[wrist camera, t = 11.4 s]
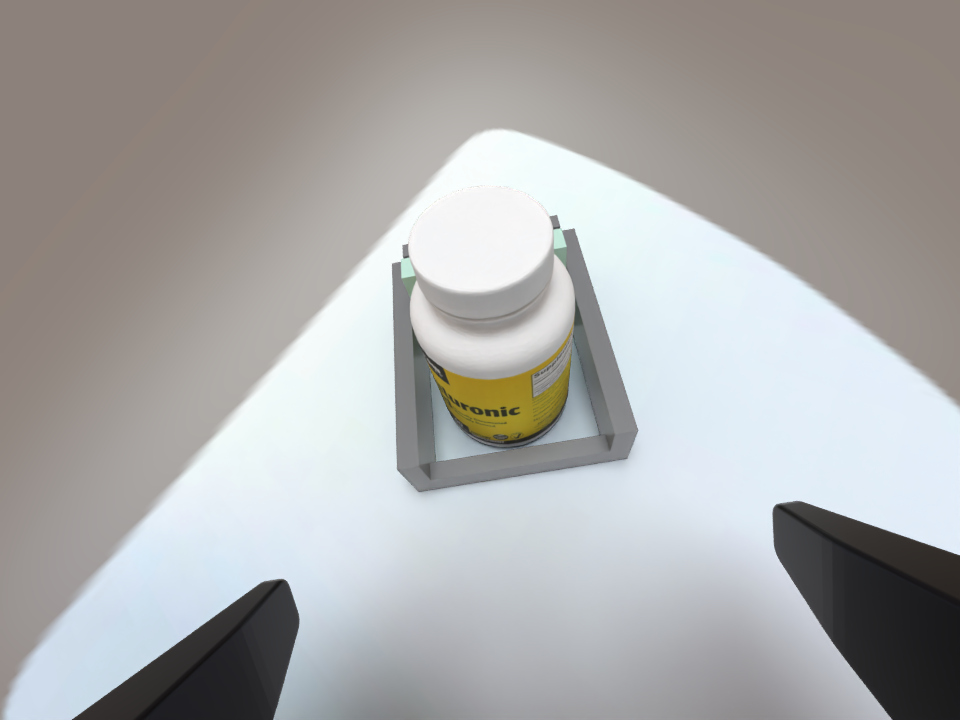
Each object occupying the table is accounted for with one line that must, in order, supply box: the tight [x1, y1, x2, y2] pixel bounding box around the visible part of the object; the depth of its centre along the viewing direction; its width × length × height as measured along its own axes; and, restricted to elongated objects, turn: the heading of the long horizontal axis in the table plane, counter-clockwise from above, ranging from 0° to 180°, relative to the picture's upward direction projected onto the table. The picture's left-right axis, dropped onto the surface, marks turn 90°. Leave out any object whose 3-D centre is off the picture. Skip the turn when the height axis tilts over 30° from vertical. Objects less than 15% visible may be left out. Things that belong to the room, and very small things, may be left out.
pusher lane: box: [392, 215, 638, 492], centre depth 20 cm, size 10×9×4 cm
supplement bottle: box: [408, 186, 575, 447], centre depth 17 cm, size 5×5×10 cm
